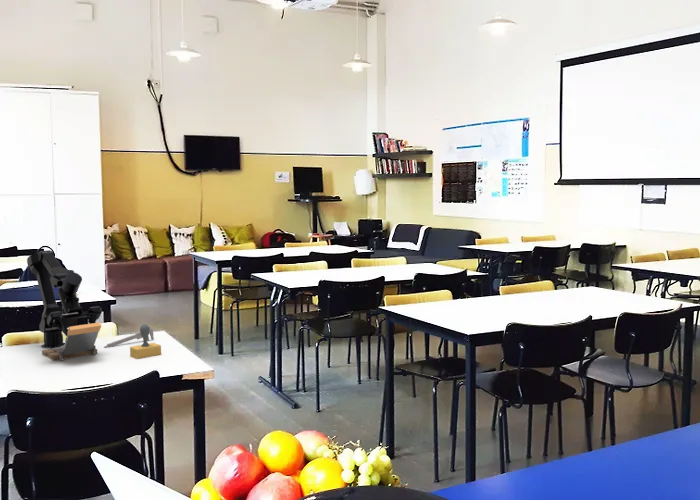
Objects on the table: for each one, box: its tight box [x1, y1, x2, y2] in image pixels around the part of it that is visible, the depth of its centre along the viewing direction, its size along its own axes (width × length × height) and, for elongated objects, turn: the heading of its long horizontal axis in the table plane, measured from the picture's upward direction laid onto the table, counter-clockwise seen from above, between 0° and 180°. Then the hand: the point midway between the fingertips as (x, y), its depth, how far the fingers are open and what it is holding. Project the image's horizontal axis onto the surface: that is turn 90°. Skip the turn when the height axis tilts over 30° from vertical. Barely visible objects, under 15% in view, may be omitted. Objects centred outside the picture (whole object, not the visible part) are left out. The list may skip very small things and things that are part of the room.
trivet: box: [41, 344, 98, 362], centre depth 261 cm, size 15×16×4 cm
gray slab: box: [62, 322, 102, 356], centre depth 252 cm, size 2×11×15 cm
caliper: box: [103, 325, 154, 349], centre depth 277 cm, size 20×1×6 cm, turn 131°
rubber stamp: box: [129, 324, 162, 360], centre depth 259 cm, size 10×6×12 cm, turn 131°
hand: (81, 335), depth 252 cm, fingers open, 9 cm apart
